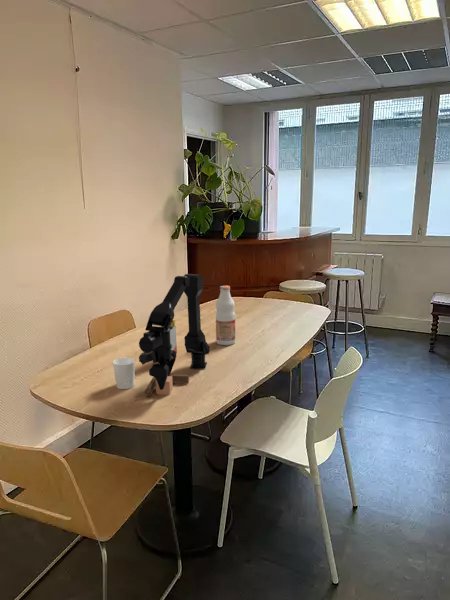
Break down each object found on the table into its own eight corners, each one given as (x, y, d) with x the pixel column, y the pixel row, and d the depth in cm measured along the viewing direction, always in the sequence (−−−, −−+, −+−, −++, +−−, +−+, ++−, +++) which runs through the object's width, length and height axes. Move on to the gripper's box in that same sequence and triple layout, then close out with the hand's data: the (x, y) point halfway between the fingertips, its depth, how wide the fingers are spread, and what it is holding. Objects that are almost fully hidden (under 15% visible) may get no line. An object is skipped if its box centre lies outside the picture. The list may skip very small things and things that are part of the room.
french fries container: (154, 364, 189) (152, 324, 185) (168, 356, 198) (166, 317, 194) (163, 366, 187) (161, 325, 183) (177, 357, 196) (175, 318, 192)
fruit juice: (212, 341, 217) (211, 286, 211) (228, 338, 222) (227, 283, 216) (222, 347, 209) (222, 289, 203) (239, 343, 215) (238, 286, 208)
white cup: (137, 381, 172) (136, 357, 170) (134, 389, 165) (132, 364, 162) (117, 381, 172) (115, 357, 170) (112, 390, 164) (111, 365, 162)
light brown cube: (159, 388, 166) (159, 375, 165) (172, 388, 165) (172, 376, 164) (156, 394, 161) (155, 381, 160) (170, 394, 161) (169, 381, 159)
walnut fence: (155, 380, 172) (155, 373, 172) (189, 381, 171) (188, 374, 170) (146, 396, 159) (145, 389, 158) (182, 397, 158) (182, 390, 157)
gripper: (147, 335, 169) (149, 373, 172) (133, 352, 150) (135, 394, 154) (175, 335, 168) (177, 374, 171) (165, 353, 150) (167, 395, 153)
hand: (164, 384), depth 162 cm, fingers open, 9 cm apart
